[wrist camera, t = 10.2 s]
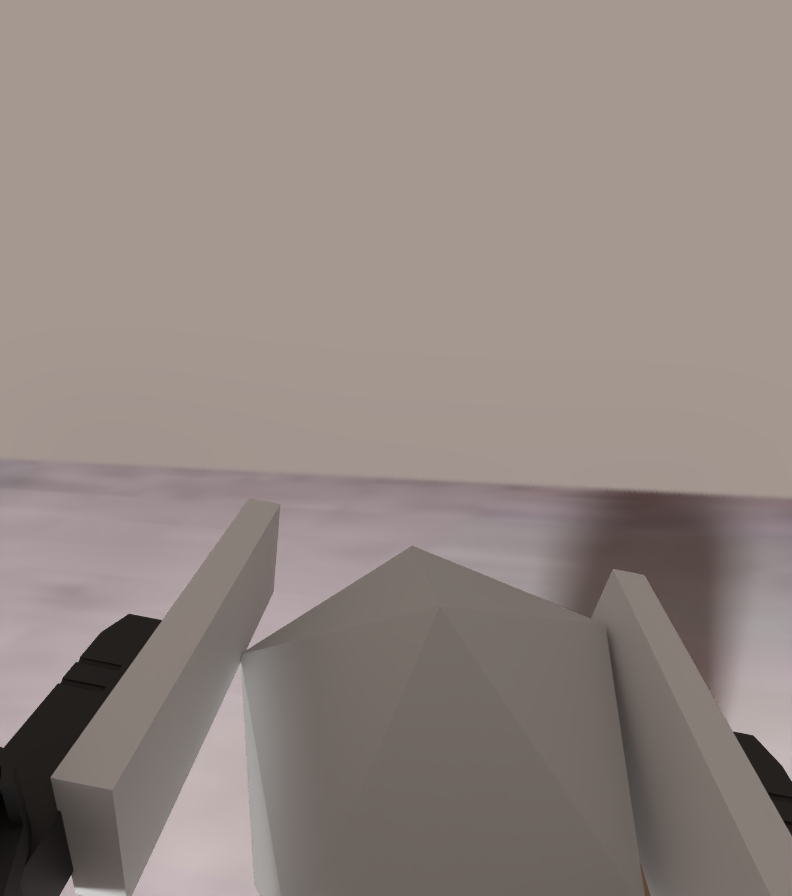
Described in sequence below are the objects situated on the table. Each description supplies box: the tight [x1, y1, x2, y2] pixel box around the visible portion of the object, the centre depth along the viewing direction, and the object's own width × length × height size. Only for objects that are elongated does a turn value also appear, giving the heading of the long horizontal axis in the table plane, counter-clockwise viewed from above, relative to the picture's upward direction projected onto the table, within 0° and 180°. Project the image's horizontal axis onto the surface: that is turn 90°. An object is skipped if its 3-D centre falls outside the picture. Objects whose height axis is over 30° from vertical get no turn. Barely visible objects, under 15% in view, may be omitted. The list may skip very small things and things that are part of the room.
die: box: [241, 546, 645, 896], centre depth 11 cm, size 8×9×10 cm
